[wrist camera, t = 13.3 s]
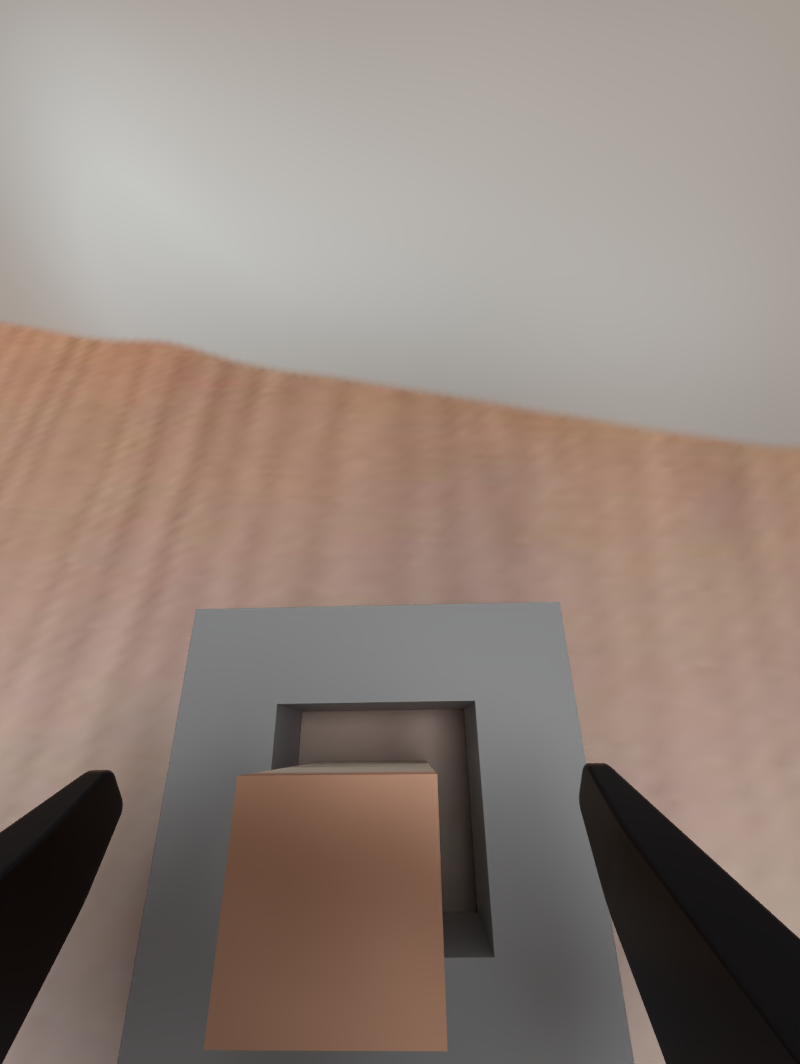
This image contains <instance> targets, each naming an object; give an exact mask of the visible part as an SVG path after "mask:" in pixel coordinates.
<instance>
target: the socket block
mask: <svg viewBox="0 0 800 1064" xmlns="http://www.w3.org/2000/svg"><path fill="white" fill-rule="evenodd" d="M425 709H464V717H465V732H466V748H467V763H468V778H469V793H470V808H471V823H472V838H473V853H474V868H475V883H476V898H477V912H472V913H442V915H443V942H444V969H445V996H446V1023H447V1050H448V1051H255V1050H204V1043H205V1035H206V1027H207V1018H208V1010H209V1002H210V994H211V986H212V978H213V969H214V961H215V953H216V945H217V937H218V928H219V920H220V912H221V904H222V896H223V888H224V879H225V871H226V863H227V855H228V847H229V838H230V830H231V822H232V814H233V806H234V798H235V789H236V781H237V776H239V775H245V774H251V773H256V772H262V771H268V770H274V769H280V768H286V767H292V766H298V758H299V744H300V729H301V715H302V712H303V711H364V710H425ZM585 764H586V762H585V756H584V750H583V744H582V738H581V731H580V725H579V719H578V713H577V707H576V700H575V694H574V688H573V682H572V676H571V669H570V663H569V657H568V651H567V645H566V639H565V632H564V626H563V620H562V614H561V608H560V602H530V603H482V604H433V605H385V606H336V607H288V608H239V609H196V612H195V618H194V623H193V629H192V635H191V641H190V647H189V652H188V658H187V664H186V670H185V675H184V681H183V687H182V693H181V698H180V704H179V710H178V716H177V722H176V727H175V733H174V739H173V745H172V750H171V756H170V762H169V768H168V773H167V779H166V785H165V791H164V797H163V802H162V808H161V814H160V820H159V825H158V831H157V837H156V843H155V848H154V854H153V860H152V866H151V872H150V877H149V883H148V889H147V895H146V900H145V906H144V912H143V918H142V923H141V929H140V935H139V941H138V947H137V952H136V958H135V964H134V970H133V975H132V981H131V987H130V993H129V998H128V1004H127V1010H126V1016H125V1022H124V1027H123V1033H122V1039H121V1045H120V1050H119V1056H118V1062H117V1064H634V1059H633V1053H632V1047H631V1041H630V1035H629V1029H628V1022H627V1016H626V1010H625V1004H624V998H623V991H622V985H621V979H620V973H619V967H618V960H617V954H616V948H615V942H614V936H613V929H612V923H611V917H610V912H609V909H608V906H607V903H606V901H605V897H604V894H603V890H602V887H601V883H600V880H599V876H598V872H597V869H596V865H595V861H594V858H593V854H592V850H591V847H590V843H589V839H588V836H587V832H586V828H585V825H584V821H583V817H582V813H581V810H580V805H579V791H580V784H581V777H582V770H583V767H584V765H585Z"/></svg>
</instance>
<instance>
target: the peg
mask: <svg viewBox="0 0 800 1064" xmlns="http://www.w3.org/2000/svg"><path fill="white" fill-rule="evenodd" d="M204 1050H255V1051H448V1050H447V1023H446V996H445V969H444V942H443V915H442V888H441V861H440V834H439V807H438V780H437V773H436V772H435V771H434V770H433V769H432V767H431V766H430V765H429V764H428V763H427V761H354V762H316V763H310V764H304V765H298V766H292V767H286V768H280V769H274V770H268V771H262V772H256V773H251V774H245V775H239V776H237V781H236V789H235V798H234V806H233V814H232V822H231V830H230V838H229V847H228V855H227V863H226V871H225V879H224V888H223V896H222V904H221V912H220V920H219V928H218V937H217V945H216V953H215V961H214V969H213V978H212V986H211V994H210V1002H209V1010H208V1018H207V1027H206V1035H205V1043H204Z"/></svg>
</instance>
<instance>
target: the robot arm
mask: <svg viewBox="0 0 800 1064" xmlns="http://www.w3.org/2000/svg"><path fill="white" fill-rule="evenodd" d="M579 805H580V810H581V813H582V817H583V821H584V825H585V828H586V832H587V836H588V839H589V843H590V847H591V850H592V854H593V858H594V861H595V865H596V869H597V872H598V876H599V880H600V883H601V887H602V890H603V894H604V897H605V901H606V903H607V906H608V909H609V912H610V915H611V918H612V920H613V923H614V926H615V928H616V931H617V934H618V936H619V939H620V942H621V944H622V947H623V950H624V952H625V955H626V958H627V960H628V963H629V966H630V968H631V971H632V974H633V976H634V979H635V982H636V984H637V987H638V990H639V992H640V995H641V998H642V1000H643V1003H644V1006H645V1008H646V1011H647V1014H648V1016H649V1019H650V1022H651V1024H652V1027H653V1030H654V1032H655V1035H656V1038H657V1040H658V1043H659V1046H660V1048H661V1051H662V1054H663V1056H664V1059H665V1062H666V1064H800V939H799V938H798V937H797V936H796V935H795V934H794V933H793V932H792V931H791V930H789V929H788V928H787V927H786V926H785V925H784V924H783V923H782V922H781V921H780V920H778V919H777V918H776V917H775V916H774V915H773V914H772V913H771V912H770V911H769V910H767V909H766V908H765V907H764V906H763V905H762V904H761V903H760V902H759V901H758V900H756V899H755V898H754V897H753V896H752V895H751V894H750V893H749V892H748V891H747V890H745V889H744V888H743V887H742V886H741V885H740V884H739V883H738V882H737V881H736V880H734V879H733V878H732V877H731V876H730V875H729V874H728V873H727V872H726V871H725V870H723V869H722V868H721V867H720V866H719V865H718V864H717V863H716V862H715V861H714V860H713V859H711V858H710V857H709V856H708V855H707V854H706V853H705V852H704V851H703V850H702V849H700V848H699V847H698V846H697V845H696V844H695V843H694V842H693V841H692V840H691V839H689V838H688V837H687V836H686V835H685V834H684V833H683V832H682V831H681V830H680V829H678V828H677V827H676V826H675V825H674V824H673V823H672V822H671V821H670V820H669V819H667V818H666V817H665V816H664V815H663V814H662V813H661V812H660V811H659V810H658V809H656V808H655V807H654V806H653V805H652V804H651V803H650V802H649V801H648V800H647V799H645V798H644V797H643V796H642V795H641V794H640V793H639V792H638V791H637V790H636V789H634V788H633V787H632V786H631V785H630V784H629V783H628V782H627V781H626V780H625V779H623V778H622V777H621V776H620V775H619V774H618V773H617V772H616V771H615V770H614V769H612V768H611V767H610V766H609V765H607V764H605V763H587V764H585V765H584V767H583V770H582V777H581V784H580V791H579ZM122 806H123V803H122V797H121V794H120V791H119V788H118V785H117V781H116V778H115V775H114V773H113V772H112V771H110V770H92V771H88V772H86V773H84V774H83V775H81V776H80V777H78V778H77V779H76V780H74V781H73V782H71V783H70V784H69V785H67V786H66V787H64V788H63V789H61V790H60V791H59V792H57V793H56V794H54V795H53V796H52V797H50V798H49V799H47V800H46V801H44V802H43V803H42V804H40V805H39V806H37V807H36V808H34V809H33V810H32V811H30V812H29V813H27V814H26V815H25V816H23V817H22V818H20V819H19V820H17V821H16V822H15V823H13V824H12V825H10V826H9V827H7V828H6V829H5V830H3V831H2V832H0V1064H2V1063H3V1061H4V1059H5V1057H6V1055H7V1053H8V1051H9V1049H10V1047H11V1045H12V1043H13V1041H14V1039H15V1037H16V1035H17V1033H18V1031H19V1030H20V1028H21V1026H22V1024H23V1022H24V1020H25V1018H26V1016H27V1014H28V1012H29V1010H30V1008H31V1006H32V1004H33V1002H34V1000H35V998H36V996H37V994H38V992H39V991H40V989H41V987H42V985H43V983H44V981H45V979H46V977H47V975H48V973H49V971H50V969H51V967H52V965H53V963H54V961H55V959H56V957H57V955H58V954H59V952H60V950H61V948H62V946H63V944H64V942H65V940H66V938H67V936H68V934H69V932H70V930H71V928H72V926H73V924H74V922H75V920H76V918H77V916H78V914H79V912H80V910H81V908H82V906H83V904H84V902H85V899H86V897H87V895H88V893H89V890H90V888H91V886H92V883H93V881H94V878H95V876H96V874H97V871H98V869H99V866H100V864H101V861H102V859H103V857H104V854H105V852H106V849H107V847H108V844H109V842H110V840H111V837H112V835H113V832H114V830H115V828H116V825H117V823H118V820H119V818H120V815H121V812H122Z"/></svg>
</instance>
